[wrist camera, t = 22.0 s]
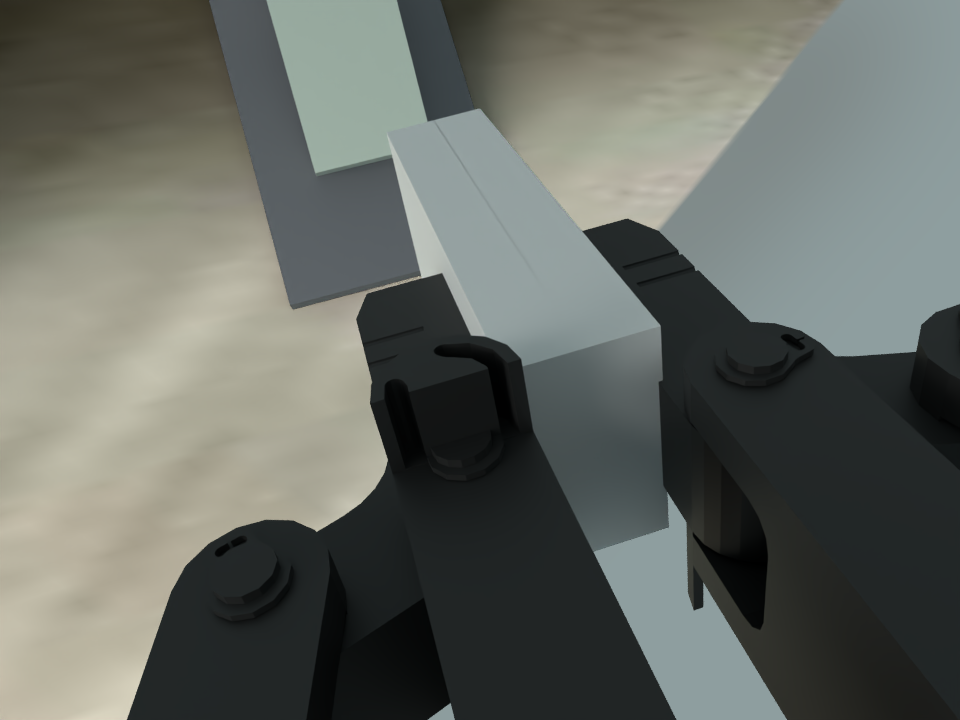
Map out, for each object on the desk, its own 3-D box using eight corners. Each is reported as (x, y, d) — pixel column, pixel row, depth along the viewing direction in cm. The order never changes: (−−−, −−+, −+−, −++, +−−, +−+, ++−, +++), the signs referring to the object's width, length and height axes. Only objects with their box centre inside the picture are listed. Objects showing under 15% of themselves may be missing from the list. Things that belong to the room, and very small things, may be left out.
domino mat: (292, 309, 35) (290, 304, 34) (161, -186, 39) (155, -201, 38) (514, 250, 36) (516, 244, 35) (366, -226, 40) (365, -241, 39)
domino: (315, 173, 33) (242, -85, 31) (317, 176, 35) (248, -67, 33) (433, 144, 34) (368, -112, 32) (428, 148, 36) (367, -92, 34)
